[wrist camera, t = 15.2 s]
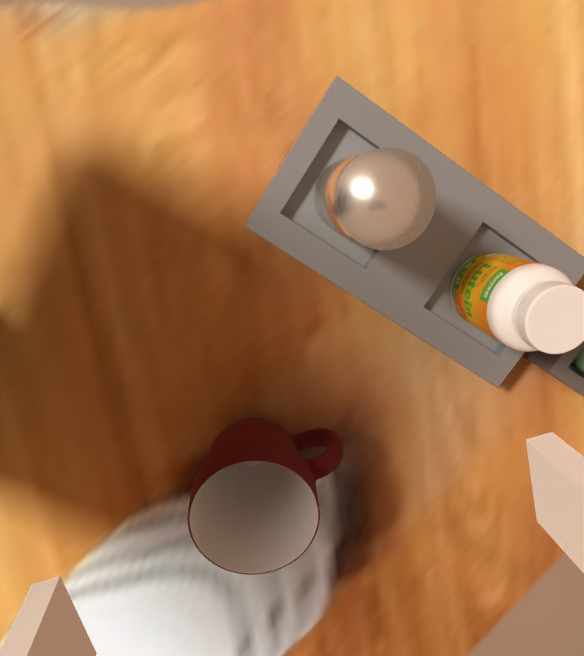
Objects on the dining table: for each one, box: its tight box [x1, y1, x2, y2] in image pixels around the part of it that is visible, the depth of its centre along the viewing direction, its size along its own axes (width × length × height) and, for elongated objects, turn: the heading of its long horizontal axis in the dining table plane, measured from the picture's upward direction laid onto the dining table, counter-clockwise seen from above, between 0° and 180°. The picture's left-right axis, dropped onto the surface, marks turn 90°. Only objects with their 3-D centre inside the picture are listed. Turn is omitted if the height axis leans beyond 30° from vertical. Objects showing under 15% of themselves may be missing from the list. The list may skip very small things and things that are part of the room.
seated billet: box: [314, 147, 436, 250], centre depth 31 cm, size 5×5×10 cm
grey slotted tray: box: [245, 76, 584, 388], centre depth 38 cm, size 22×11×2 cm, turn 57°
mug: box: [188, 419, 343, 574], centre depth 37 cm, size 10×8×10 cm
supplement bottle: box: [450, 252, 584, 354], centre depth 34 cm, size 5×5×10 cm
